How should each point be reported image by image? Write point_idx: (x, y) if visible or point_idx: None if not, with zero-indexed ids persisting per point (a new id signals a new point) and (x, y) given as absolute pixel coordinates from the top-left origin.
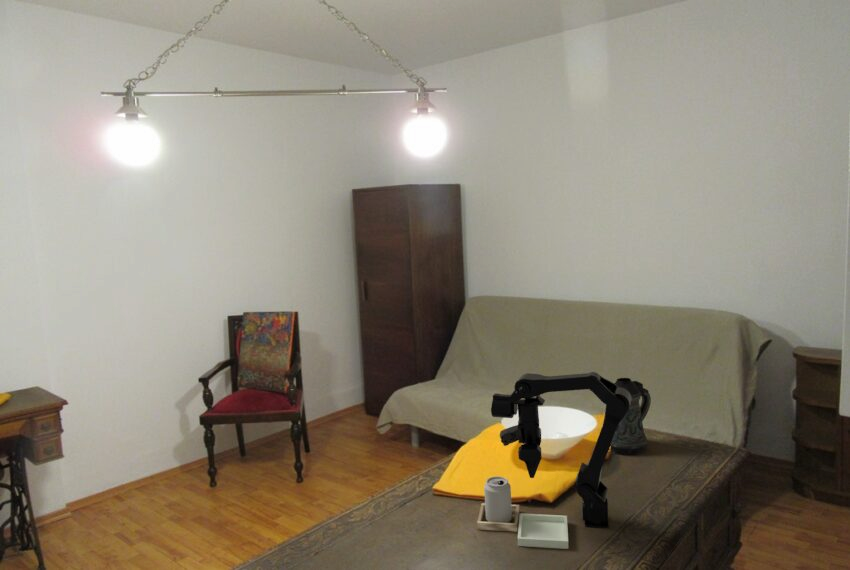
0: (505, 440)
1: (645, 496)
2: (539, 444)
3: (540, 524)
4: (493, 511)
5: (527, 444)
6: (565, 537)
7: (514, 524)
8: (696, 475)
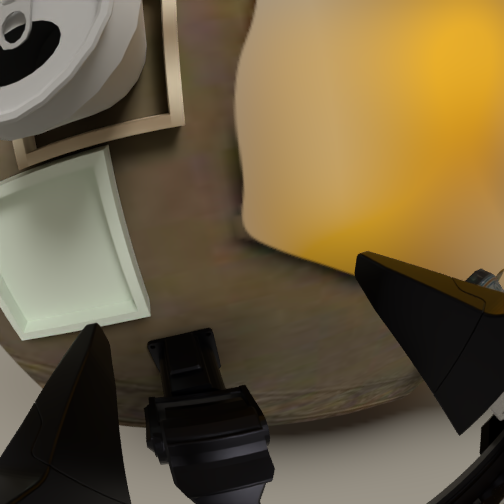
0: None
1: (312, 383)
2: (447, 410)
3: (89, 234)
4: (11, 59)
5: (499, 341)
6: (32, 333)
7: (17, 159)
8: (366, 397)
